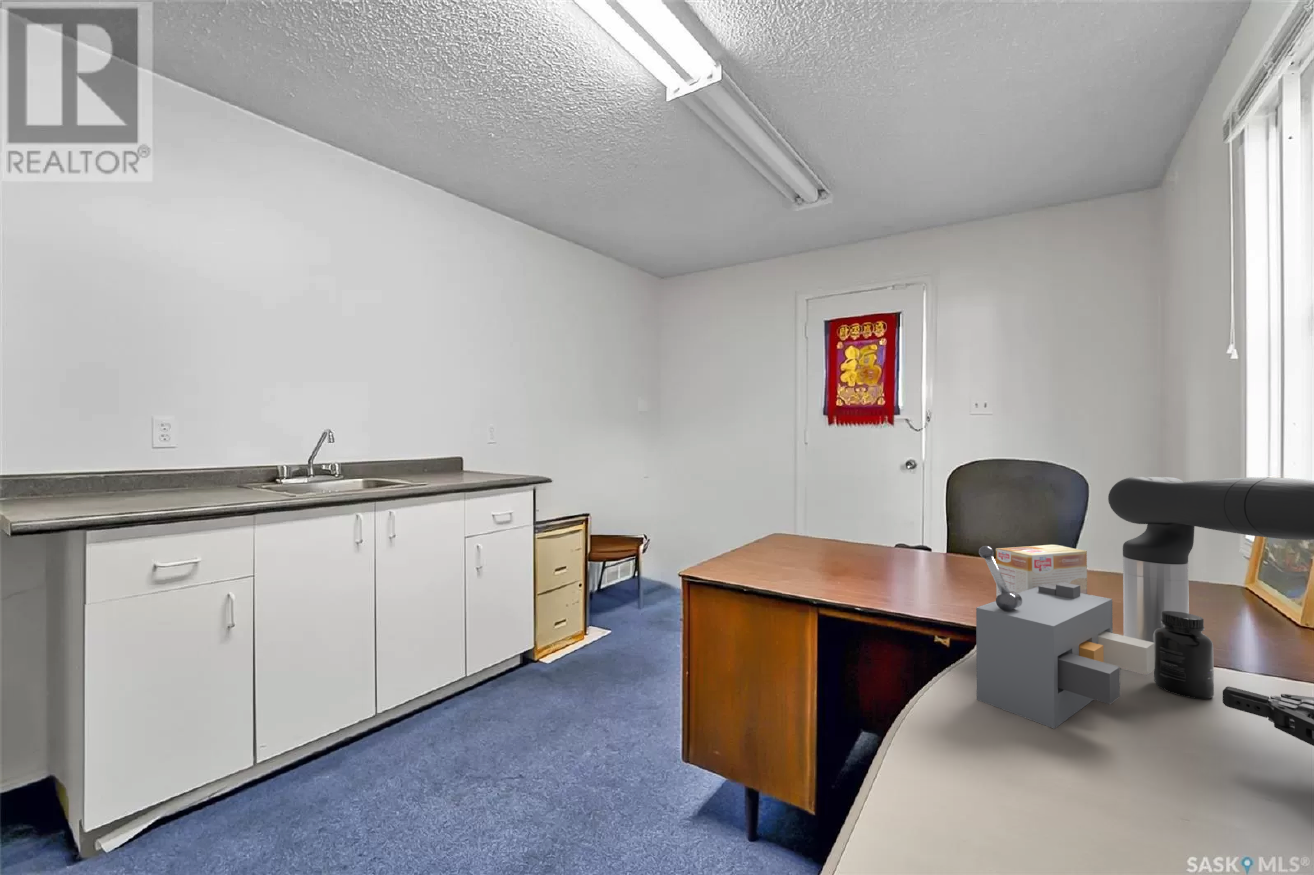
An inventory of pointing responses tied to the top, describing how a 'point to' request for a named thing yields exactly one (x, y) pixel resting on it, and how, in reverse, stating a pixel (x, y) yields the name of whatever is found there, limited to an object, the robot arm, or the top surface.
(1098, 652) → the orange button
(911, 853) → the top surface
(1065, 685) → the black button
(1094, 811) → the top surface
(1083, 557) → the coffeecake box
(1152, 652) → the cream button
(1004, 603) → the toggle lever
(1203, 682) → the supplement bottle
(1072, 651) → the grey dispenser housing
